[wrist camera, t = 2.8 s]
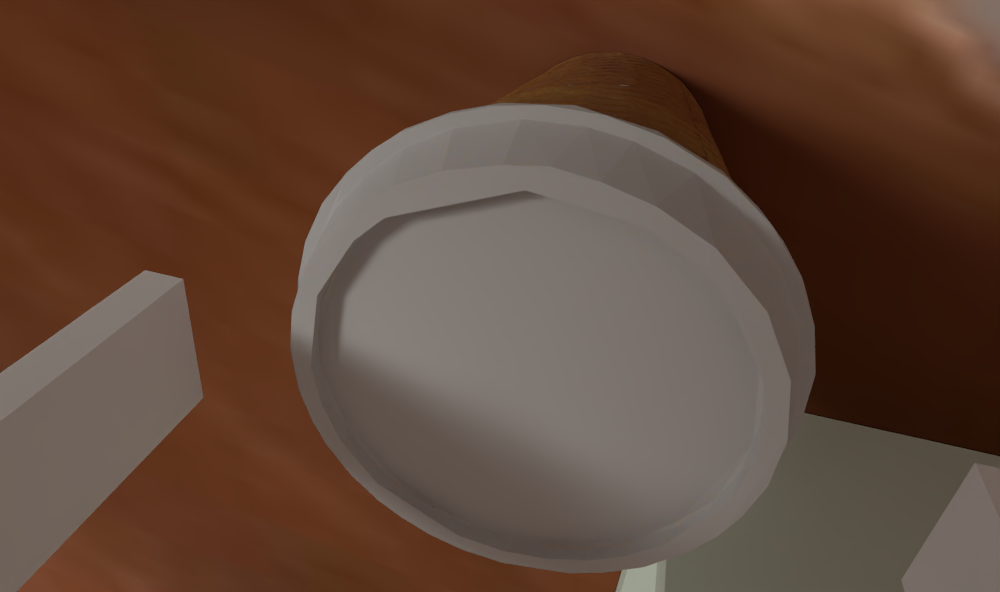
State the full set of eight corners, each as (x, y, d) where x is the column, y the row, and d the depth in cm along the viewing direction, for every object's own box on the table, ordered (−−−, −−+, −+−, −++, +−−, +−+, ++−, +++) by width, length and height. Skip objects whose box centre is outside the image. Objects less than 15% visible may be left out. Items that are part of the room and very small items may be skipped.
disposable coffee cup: (828, 45, 19) (961, 255, 9) (697, 324, 24) (691, 648, 14) (490, -51, 20) (272, 46, 10) (435, 240, 25) (258, 492, 15)
